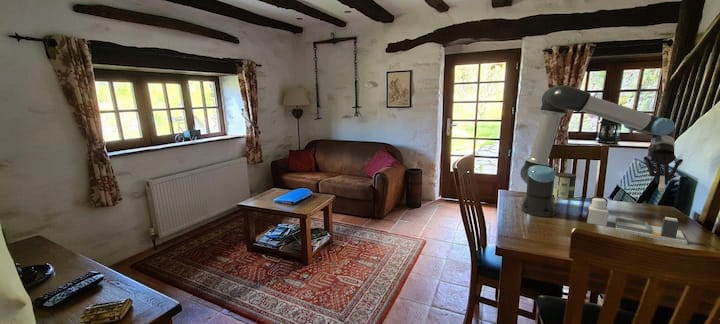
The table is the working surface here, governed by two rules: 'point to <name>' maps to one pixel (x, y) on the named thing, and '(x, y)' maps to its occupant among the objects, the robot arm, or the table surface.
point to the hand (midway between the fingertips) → (661, 189)
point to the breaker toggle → (669, 227)
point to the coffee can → (564, 186)
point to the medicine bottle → (597, 211)
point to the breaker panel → (645, 230)
